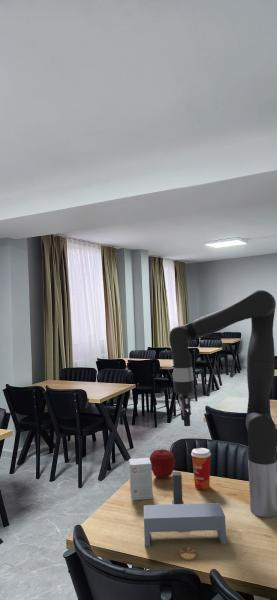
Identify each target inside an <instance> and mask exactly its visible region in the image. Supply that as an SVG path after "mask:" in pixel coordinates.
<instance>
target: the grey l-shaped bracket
mask: <svg viewBox="0 0 277 600" xmlns="http://www.w3.org/2000/svg"><path fill="white" fill-rule="evenodd" d="M171 475H172V495H173V496H172V498H173V499H172V500H171V504H185V502H184V500H183V481H182V478H183V477H182V471H173V472H172V474H171Z"/></svg>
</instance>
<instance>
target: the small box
mask: <svg viewBox="0 0 277 600" xmlns="http://www.w3.org/2000/svg"><path fill="white" fill-rule="evenodd" d="M128 463H129V464H128V465H129V466H128V467H129V493H130V498H131V501H139V500H140V501H141V500H152V499H154V495H153V494H154V493H153V472H152V466H151V462H150V457H142V458H141V457H140V458H129V459H128Z"/></svg>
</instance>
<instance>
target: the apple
mask: <svg viewBox="0 0 277 600" xmlns="http://www.w3.org/2000/svg"><path fill="white" fill-rule="evenodd" d="M149 459H150V462H151V466H152V475H153V476H155V477H156V478H157V479H159V480H165V479H168V478H170V476H171V475H172V472H174V469H175V463H176V459H175V456H174V453H172V451H170V450H168V449H161V448H160V449H156V450H153V451H152V452H151V454H150V456H149Z"/></svg>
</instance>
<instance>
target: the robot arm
mask: <svg viewBox="0 0 277 600" xmlns="http://www.w3.org/2000/svg"><path fill="white" fill-rule="evenodd" d="M276 305H277V302H276V299H275V296H274V295H272V294H271V293H270V292H269V291H266V290H263V289H262V290H261V289H260V290H256V291H253V292H252V293H251V294H249V295H247V296H246V297H244V298H242V299H241V300H239V301H237V302H236V303H233V304H231V305H229V306H227V307H225V308H221V309H218V310H217V311H214V312H211V313H208V314H206V315H203V316H200V317H199V318H196V319H194V321H192V322H189V323H186V324H183V325H180V326H175V327H174V328H172V329H171V330H170V332H169V336H168V337H169V345H170V348H171V353H172V354H171V355H172V367H173V369H172V370H173V371H172V375H173V376H172V378H173V379H172V381H173V392H174V393H175V394H178V405H179V410H180V418H181V420H182V421H183V426H184V427H190V426H191V415H192V412H191V410H192V407H191V398H190V396H189V394H192V393H193V392H195V387H194V386H195V385H194V384H195V381H194V372H193V370H194V369H193V360H192V353H191V352H190V351H189V345H188V344H190V343H192V342H193V341H195V340H197V339H201V338H203V337H207V336H209V335H212V334H214V333H216V332H220V331H222V330H224V329H226V328H227V327H229V326H231V325H234V324H236V323H239V322H241V321H245V320H248V319H251V321H250V322H251V329H250V330H251V332H250V338H249V342H248V347H247V355H246V375H247V376H246V377H247V378H246V379H247V380H246V381H247V389H248V391H247V392H248V401H247V411H246V416H245V427H246V430H247V442H248V443H247V444H248V445H247V447H248V448H247V463H248V483H249V506H250V507H249V508H250V509H249V510H250V512H251V513H252V514H254V515H255V516H257V517H259V518H260V517H261V518H274V517H277V427H276V424H275V421H274V420H273V419H272V413H271V393H272V388H273V383H274V380H275V370H276V369H275V368H276V367H275V364H276V362H275V361H276V359H275V358H276V355H275V342H274V341H275V340H274V321H275V313H276Z"/></svg>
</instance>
